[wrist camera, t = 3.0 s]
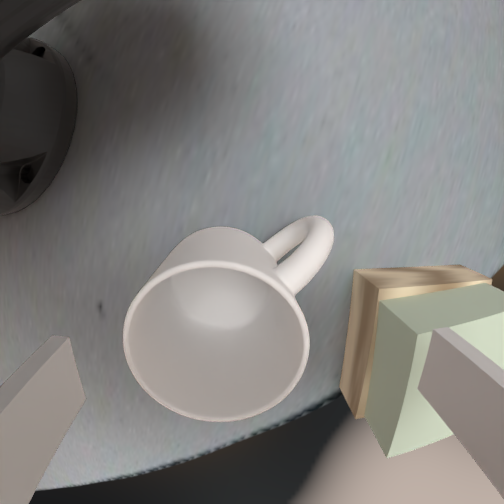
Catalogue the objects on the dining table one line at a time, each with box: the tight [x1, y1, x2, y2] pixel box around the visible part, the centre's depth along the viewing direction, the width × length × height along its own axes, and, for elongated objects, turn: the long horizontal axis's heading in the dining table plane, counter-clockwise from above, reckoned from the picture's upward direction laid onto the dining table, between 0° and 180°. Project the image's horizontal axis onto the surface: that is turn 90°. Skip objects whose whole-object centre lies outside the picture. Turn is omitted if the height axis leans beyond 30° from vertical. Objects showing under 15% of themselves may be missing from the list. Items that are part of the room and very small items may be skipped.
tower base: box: [339, 265, 492, 419], centre depth 23 cm, size 11×11×5 cm
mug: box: [123, 215, 334, 422], centre depth 18 cm, size 12×8×10 cm
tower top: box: [364, 283, 504, 458], centre depth 18 cm, size 10×10×5 cm
